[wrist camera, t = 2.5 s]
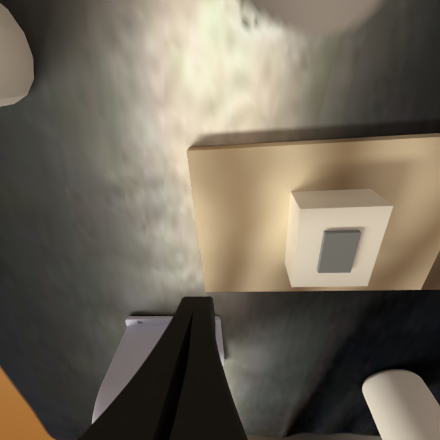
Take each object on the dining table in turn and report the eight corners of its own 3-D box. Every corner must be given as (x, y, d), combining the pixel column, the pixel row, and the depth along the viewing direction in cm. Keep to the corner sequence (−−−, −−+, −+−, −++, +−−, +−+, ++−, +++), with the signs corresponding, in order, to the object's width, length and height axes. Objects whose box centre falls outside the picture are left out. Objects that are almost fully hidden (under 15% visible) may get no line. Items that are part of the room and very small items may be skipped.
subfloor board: (206, 283, 21) (205, 292, 20) (189, 147, 15) (186, 151, 15) (522, 279, 19) (536, 288, 18) (640, 121, 13) (668, 124, 13)
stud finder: (284, 263, 18) (292, 290, 16) (290, 191, 15) (301, 211, 13) (351, 262, 18) (369, 289, 16) (370, 188, 15) (396, 208, 13)
